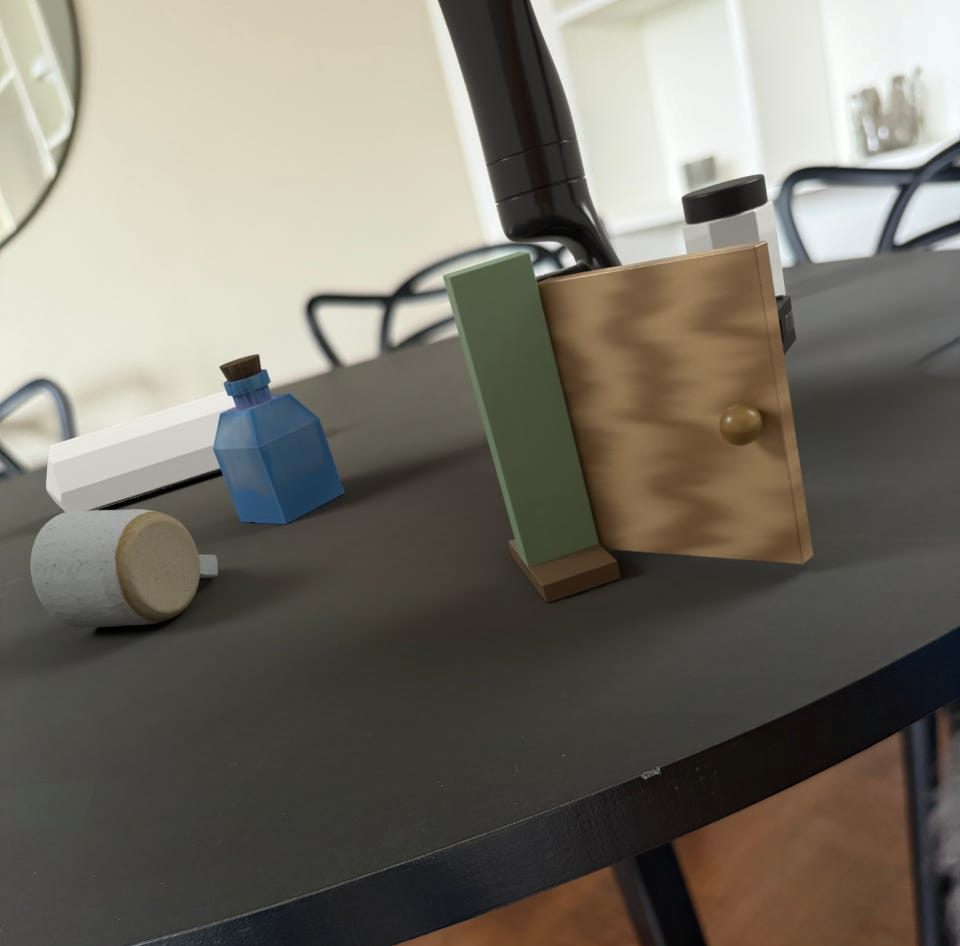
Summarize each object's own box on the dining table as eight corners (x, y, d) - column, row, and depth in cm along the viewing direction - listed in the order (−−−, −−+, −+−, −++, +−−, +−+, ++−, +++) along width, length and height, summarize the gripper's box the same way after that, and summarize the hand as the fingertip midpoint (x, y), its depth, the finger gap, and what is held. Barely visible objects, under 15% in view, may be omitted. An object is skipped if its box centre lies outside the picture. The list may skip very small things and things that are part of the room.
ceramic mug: (151, 643, 62) (100, 526, 59) (59, 648, 66) (7, 539, 63) (252, 571, 70) (212, 464, 67) (166, 579, 74) (124, 479, 71)
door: (814, 556, 47) (768, 239, 41) (783, 582, 45) (730, 257, 40) (609, 541, 55) (548, 278, 50) (577, 563, 54) (510, 294, 48)
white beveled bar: (30, 496, 97) (273, 419, 99) (28, 447, 101) (261, 374, 103) (67, 546, 103) (295, 473, 105) (63, 498, 107) (283, 429, 109)
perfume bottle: (344, 492, 82) (294, 344, 77) (286, 524, 79) (229, 370, 74) (299, 492, 87) (248, 352, 82) (241, 522, 83) (184, 376, 78)
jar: (779, 290, 109) (761, 170, 104) (792, 302, 101) (774, 173, 97) (694, 312, 111) (673, 196, 106) (702, 325, 103) (679, 200, 98)
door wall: (577, 535, 59) (507, 249, 53) (621, 578, 52) (545, 253, 45) (512, 557, 59) (433, 272, 52) (546, 603, 52) (459, 280, 45)
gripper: (527, 306, 63) (615, 332, 47) (726, 244, 64) (877, 249, 48) (556, 423, 66) (647, 484, 51) (745, 362, 67) (893, 402, 51)
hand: (759, 369), depth 50 cm, fingers closed
